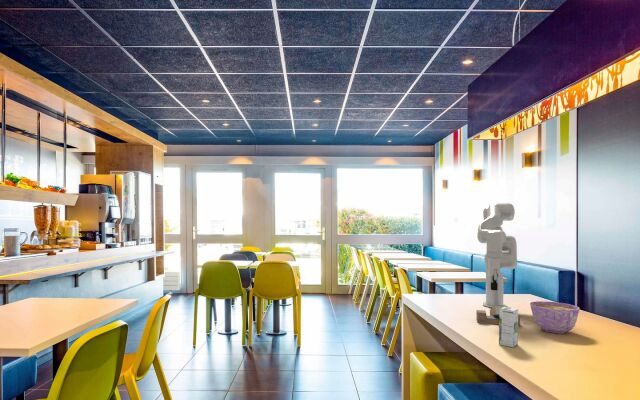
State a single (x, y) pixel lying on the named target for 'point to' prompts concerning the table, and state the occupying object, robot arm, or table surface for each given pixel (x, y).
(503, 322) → the syrup box
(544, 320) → the bowl of food
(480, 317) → the walnut cradle
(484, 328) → the table surface
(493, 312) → the skincare box
